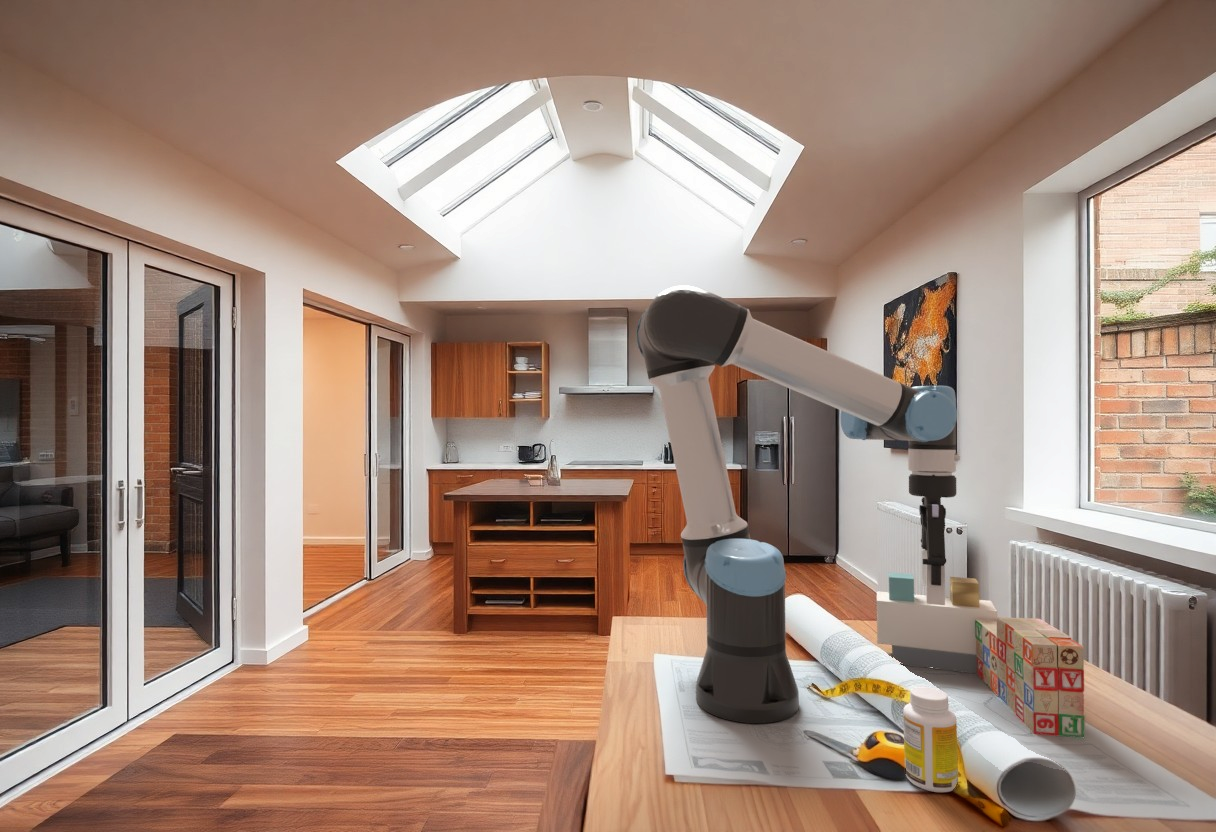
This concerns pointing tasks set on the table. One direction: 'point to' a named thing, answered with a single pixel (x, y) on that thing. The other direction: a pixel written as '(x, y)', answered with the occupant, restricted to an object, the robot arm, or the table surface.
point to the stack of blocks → (1034, 673)
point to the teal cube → (901, 587)
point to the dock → (935, 659)
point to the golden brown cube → (964, 592)
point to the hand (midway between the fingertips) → (932, 594)
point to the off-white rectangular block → (930, 623)
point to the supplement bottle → (930, 740)
